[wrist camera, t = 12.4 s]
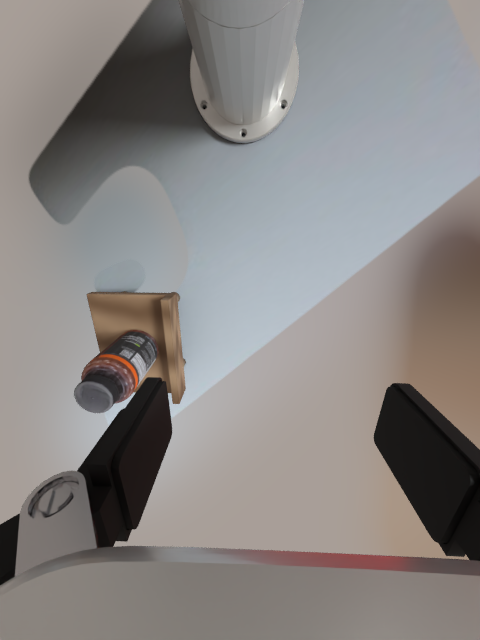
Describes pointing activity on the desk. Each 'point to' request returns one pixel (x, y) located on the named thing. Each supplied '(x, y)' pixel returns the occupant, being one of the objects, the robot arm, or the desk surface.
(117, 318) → the peg shelf
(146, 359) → the supplement bottle
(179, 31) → the desk surface
